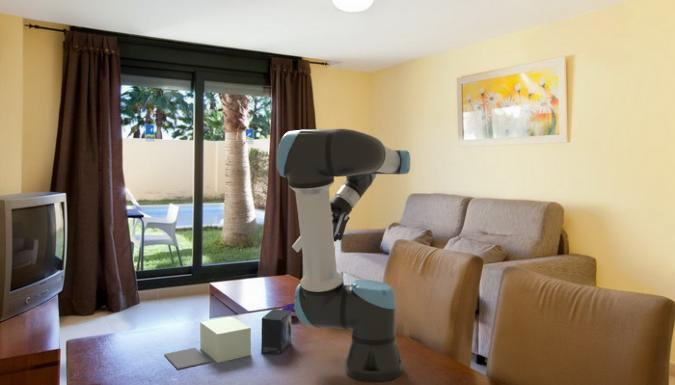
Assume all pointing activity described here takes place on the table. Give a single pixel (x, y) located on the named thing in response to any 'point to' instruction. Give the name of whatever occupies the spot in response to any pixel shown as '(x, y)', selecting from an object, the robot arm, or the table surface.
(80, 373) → the table surface
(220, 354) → the step
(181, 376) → the table surface
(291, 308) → the game controller
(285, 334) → the small box
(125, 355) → the table surface
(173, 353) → the mat
